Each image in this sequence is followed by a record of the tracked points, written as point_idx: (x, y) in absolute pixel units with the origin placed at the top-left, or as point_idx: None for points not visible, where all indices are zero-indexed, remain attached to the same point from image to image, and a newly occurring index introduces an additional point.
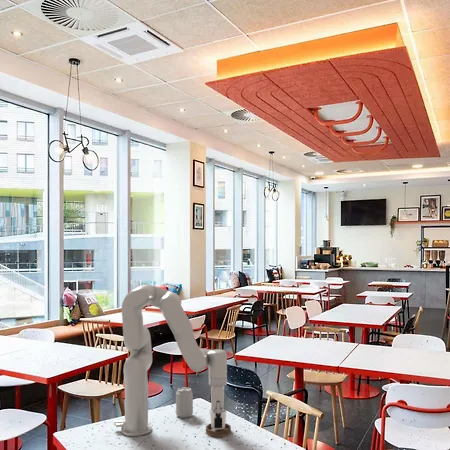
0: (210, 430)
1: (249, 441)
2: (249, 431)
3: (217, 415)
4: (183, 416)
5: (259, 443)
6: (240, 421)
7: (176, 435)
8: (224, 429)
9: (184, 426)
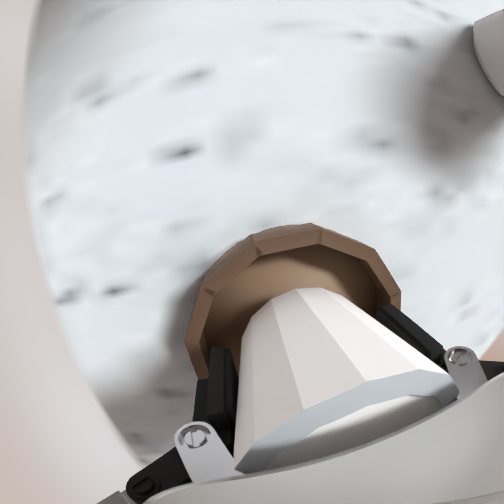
0: (208, 297)
1: None
2: None
3: (130, 488)
4: (478, 48)
5: None
6: None
7: (182, 13)
8: None
9: (370, 41)
